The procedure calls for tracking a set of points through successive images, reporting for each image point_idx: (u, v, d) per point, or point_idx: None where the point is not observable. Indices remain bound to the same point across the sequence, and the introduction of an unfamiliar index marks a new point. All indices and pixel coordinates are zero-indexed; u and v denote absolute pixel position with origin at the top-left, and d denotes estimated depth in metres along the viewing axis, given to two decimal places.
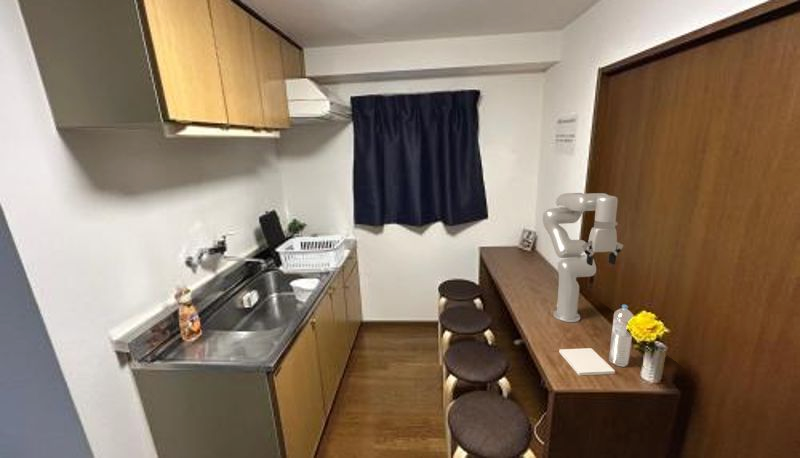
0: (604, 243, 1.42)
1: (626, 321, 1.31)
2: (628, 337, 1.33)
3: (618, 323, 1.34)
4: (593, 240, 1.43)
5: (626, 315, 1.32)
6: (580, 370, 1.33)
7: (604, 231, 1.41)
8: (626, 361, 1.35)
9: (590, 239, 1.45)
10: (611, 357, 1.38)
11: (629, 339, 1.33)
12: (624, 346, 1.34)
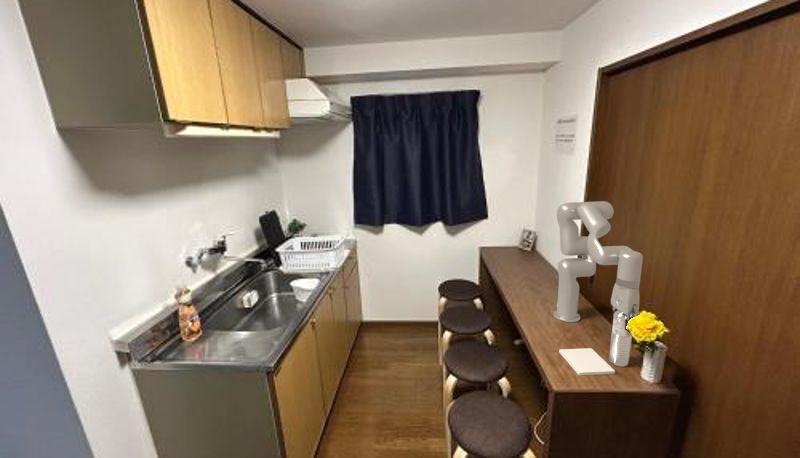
0: None
1: None
2: (628, 337, 1.33)
3: (618, 323, 1.34)
4: (638, 302, 1.28)
5: None
6: (580, 370, 1.33)
7: None
8: (626, 361, 1.35)
9: (633, 303, 1.28)
10: (611, 357, 1.38)
11: (629, 339, 1.33)
12: (624, 346, 1.34)
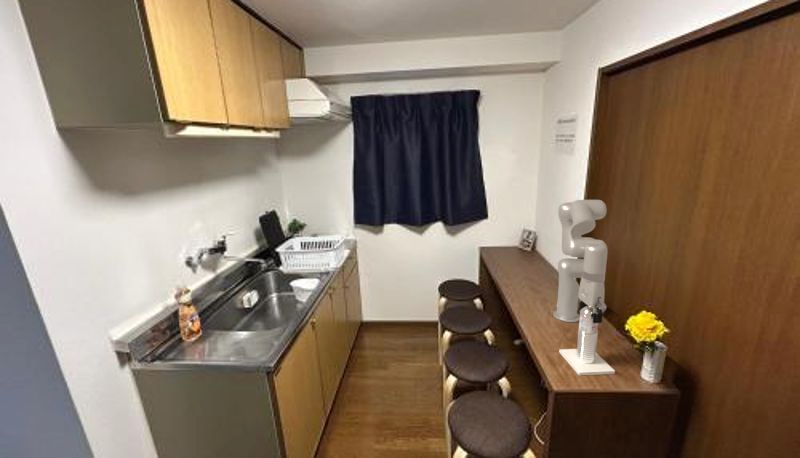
0: None
1: (591, 318, 1.32)
2: (594, 334, 1.34)
3: (583, 320, 1.34)
4: (603, 295, 1.28)
5: (591, 312, 1.32)
6: (580, 370, 1.33)
7: None
8: (592, 358, 1.36)
9: (598, 296, 1.28)
10: (578, 354, 1.39)
11: (595, 336, 1.34)
12: (589, 342, 1.34)
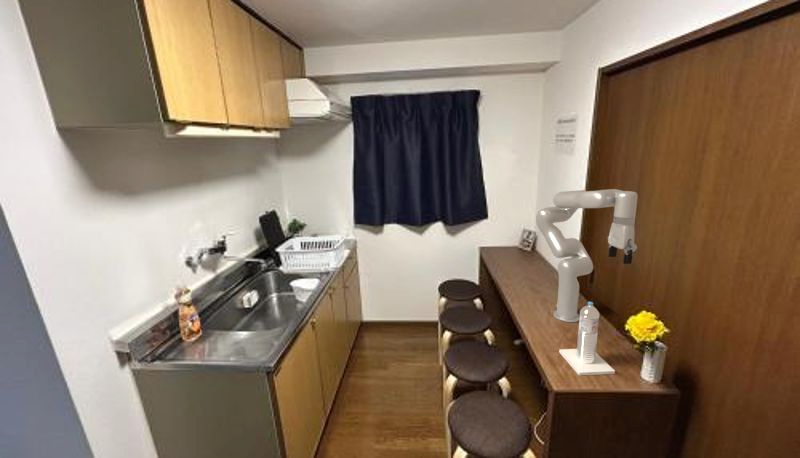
0: None
1: (591, 318, 1.32)
2: (594, 334, 1.34)
3: (583, 320, 1.34)
4: (633, 237, 1.39)
5: (591, 312, 1.32)
6: (580, 370, 1.33)
7: None
8: (592, 358, 1.36)
9: (628, 238, 1.39)
10: (578, 354, 1.39)
11: (595, 336, 1.34)
12: (589, 342, 1.34)
